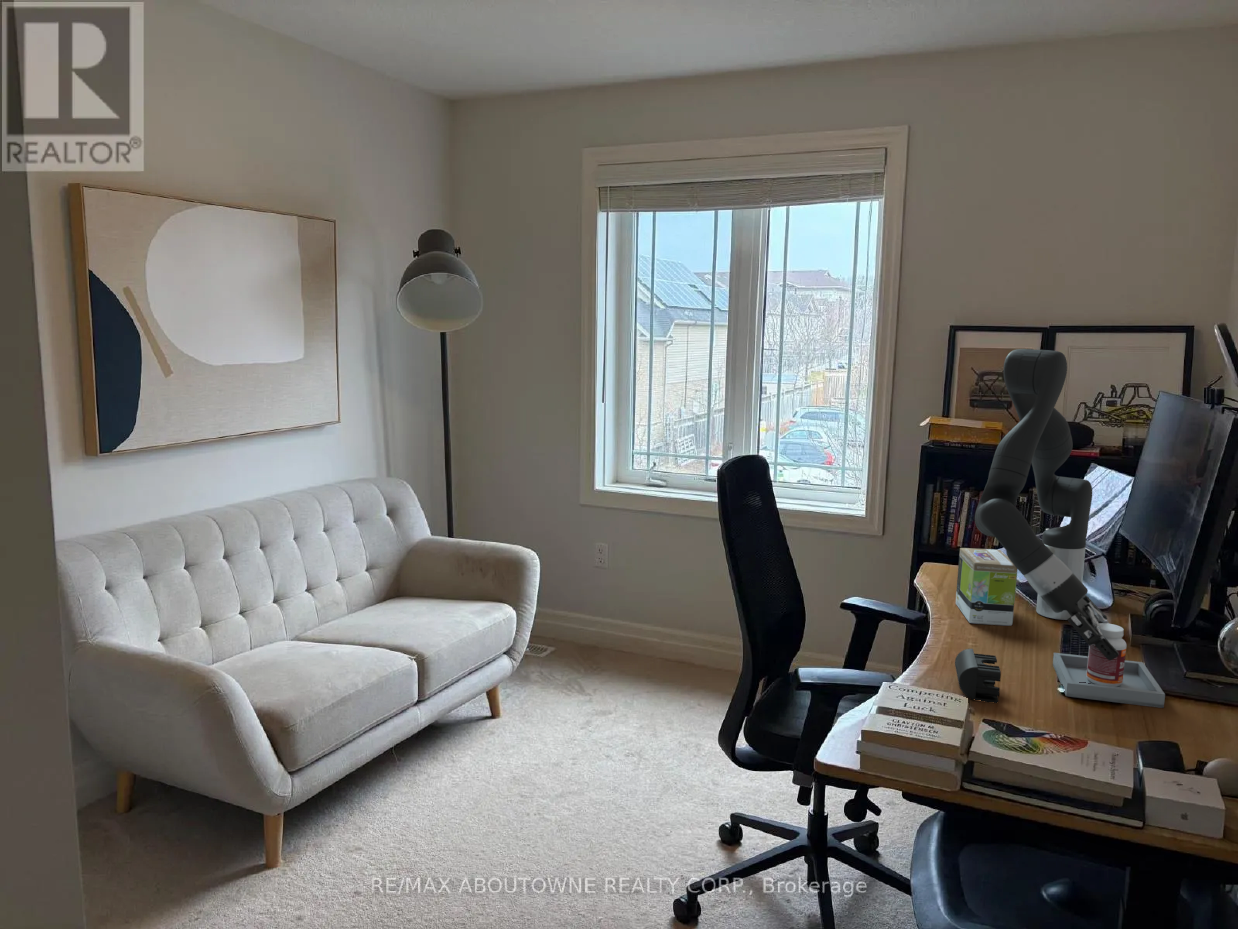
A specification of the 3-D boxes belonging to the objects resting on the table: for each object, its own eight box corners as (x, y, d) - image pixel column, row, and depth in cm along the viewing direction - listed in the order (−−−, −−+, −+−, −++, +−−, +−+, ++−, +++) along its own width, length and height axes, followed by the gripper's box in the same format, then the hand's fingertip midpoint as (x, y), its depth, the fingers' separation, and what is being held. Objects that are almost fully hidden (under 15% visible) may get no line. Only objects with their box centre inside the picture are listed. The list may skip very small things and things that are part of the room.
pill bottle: (1125, 690, 164) (1131, 634, 162) (1089, 685, 166) (1094, 630, 164) (1118, 677, 170) (1124, 623, 168) (1083, 673, 172) (1088, 620, 170)
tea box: (1014, 626, 200) (1019, 564, 198) (968, 624, 202) (972, 562, 200) (996, 606, 215) (1001, 548, 213) (954, 604, 217) (958, 546, 214)
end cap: (953, 679, 171) (955, 646, 170) (992, 683, 169) (995, 650, 168) (957, 700, 161) (959, 665, 160) (998, 705, 159) (1001, 670, 158)
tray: (1052, 664, 178) (1053, 652, 177) (1141, 674, 173) (1142, 662, 173) (1066, 696, 163) (1067, 683, 162) (1163, 708, 158) (1165, 694, 158)
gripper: (1066, 581, 163) (1131, 652, 158) (1075, 563, 174) (1135, 629, 170) (1033, 603, 166) (1096, 673, 162) (1044, 584, 178) (1102, 649, 174)
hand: (1116, 650), depth 166 cm, fingers open, 8 cm apart
